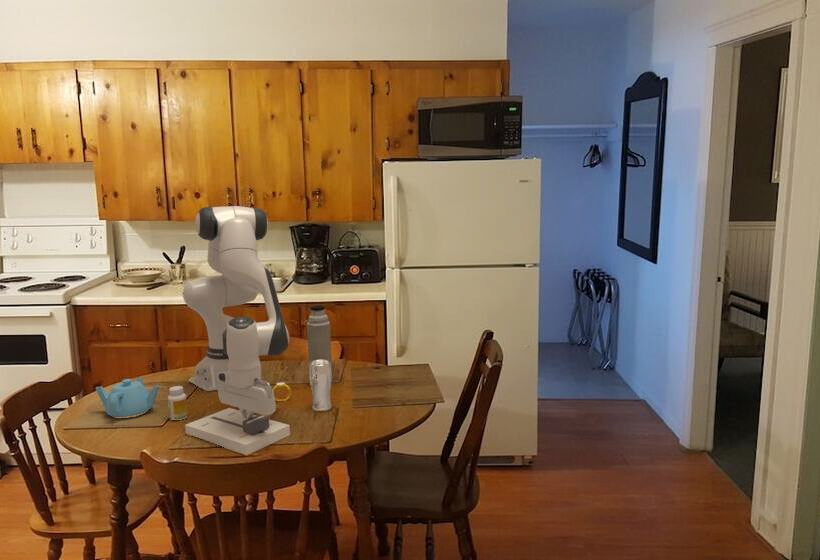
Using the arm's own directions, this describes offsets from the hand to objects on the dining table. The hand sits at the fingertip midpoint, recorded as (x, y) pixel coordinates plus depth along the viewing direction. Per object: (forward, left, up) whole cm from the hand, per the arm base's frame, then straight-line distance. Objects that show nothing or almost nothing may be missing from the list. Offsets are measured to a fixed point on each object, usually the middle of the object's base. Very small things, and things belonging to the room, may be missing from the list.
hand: (248, 423), depth 187 cm
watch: (-15, +27, -5) cm, 31 cm away
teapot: (-49, -6, -5) cm, 50 cm away
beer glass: (+1, +29, -5) cm, 30 cm away
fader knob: (+3, 0, -1) cm, 3 cm away
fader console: (-5, 0, -5) cm, 7 cm away
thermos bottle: (-15, +46, -5) cm, 49 cm away
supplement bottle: (-31, -1, -5) cm, 32 cm away
